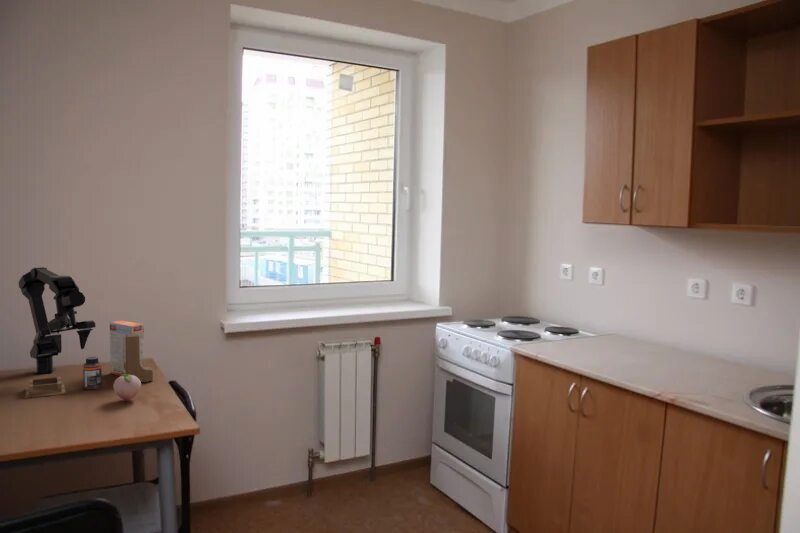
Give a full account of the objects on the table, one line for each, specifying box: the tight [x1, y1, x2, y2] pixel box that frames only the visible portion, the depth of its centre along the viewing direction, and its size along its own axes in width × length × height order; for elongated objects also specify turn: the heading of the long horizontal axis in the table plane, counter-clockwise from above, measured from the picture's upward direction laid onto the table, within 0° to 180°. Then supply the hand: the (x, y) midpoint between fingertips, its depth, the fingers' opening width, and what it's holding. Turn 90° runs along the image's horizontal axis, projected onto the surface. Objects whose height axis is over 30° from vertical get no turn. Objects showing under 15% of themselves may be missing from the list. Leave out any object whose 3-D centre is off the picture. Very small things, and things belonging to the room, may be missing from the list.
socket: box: [25, 376, 66, 399], centre depth 218 cm, size 12×12×4 cm
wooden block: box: [126, 334, 154, 383], centre depth 232 cm, size 9×4×18 cm, turn 118°
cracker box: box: [109, 320, 145, 377], centre depth 240 cm, size 14×6×21 cm, turn 58°
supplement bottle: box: [82, 356, 103, 391], centre depth 223 cm, size 6×6×11 cm
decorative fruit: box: [112, 372, 142, 402], centre depth 209 cm, size 9×8×10 cm
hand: (71, 351), depth 229 cm, fingers open, 9 cm apart
